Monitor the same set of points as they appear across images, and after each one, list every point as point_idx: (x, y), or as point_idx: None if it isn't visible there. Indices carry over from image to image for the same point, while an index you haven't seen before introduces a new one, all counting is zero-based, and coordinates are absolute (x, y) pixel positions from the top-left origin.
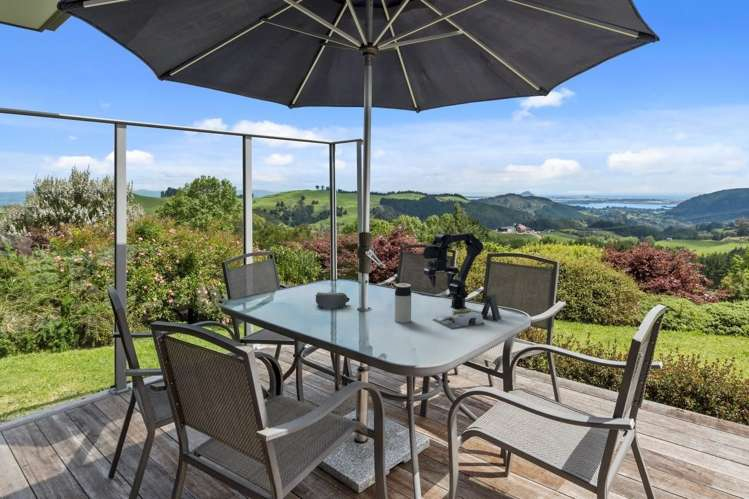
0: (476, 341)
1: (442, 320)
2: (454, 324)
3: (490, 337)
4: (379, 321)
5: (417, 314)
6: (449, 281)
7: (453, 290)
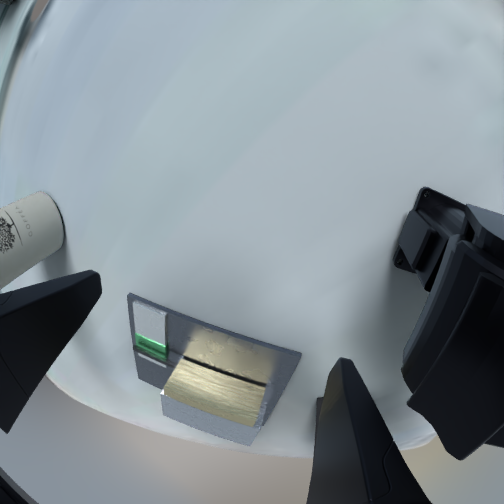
0: (151, 423)
1: (134, 347)
2: (164, 376)
3: (192, 438)
4: (9, 181)
5: (116, 180)
6: (319, 451)
7: (421, 326)
